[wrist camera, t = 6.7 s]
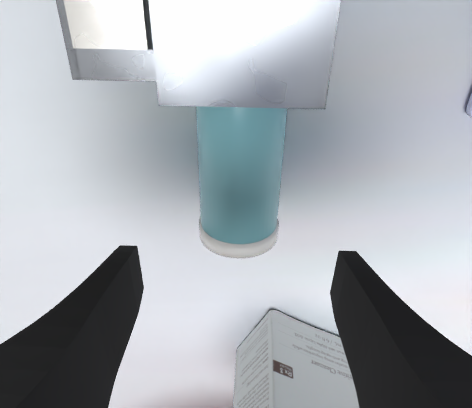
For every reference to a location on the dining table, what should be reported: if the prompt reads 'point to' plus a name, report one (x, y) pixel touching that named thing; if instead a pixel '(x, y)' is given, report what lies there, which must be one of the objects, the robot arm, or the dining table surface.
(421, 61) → the dining table surface
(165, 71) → the housing
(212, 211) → the cylinder
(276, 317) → the skincare box
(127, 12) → the plunger
